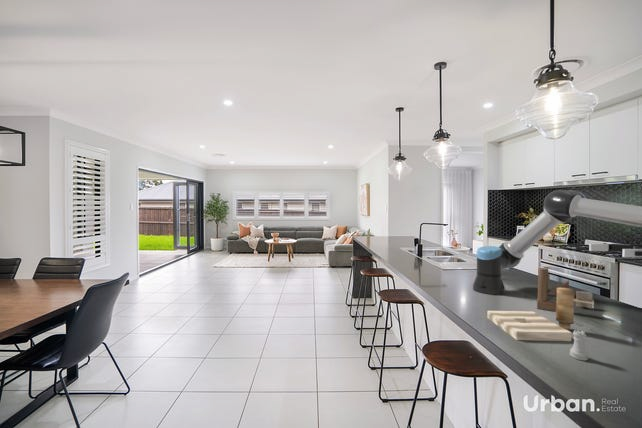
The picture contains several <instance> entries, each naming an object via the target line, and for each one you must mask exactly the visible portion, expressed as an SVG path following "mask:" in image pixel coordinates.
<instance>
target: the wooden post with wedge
mask: <svg viewBox="0 0 642 428" xmlns="http://www.w3.org/2000/svg"><path fill="white" fill-rule="evenodd" d="M537 271H538V272H537V273H538V274H537V299H536V309H537V310H544V311H551V312H556V304H557V301H553V300H548V299H549V298H548V297H549V296H548V295H551V296H557V288H568V289H570V288H569V287H570V280H569V279H568V278H567V279H565V280H563V281H562V282H561V283H559V284H558V285H557V286H555V287H553V288H552V289H550V290H549V268H545V267H539V268H538V270H537Z"/></svg>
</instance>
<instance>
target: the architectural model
mask: <svg viewBox="0 0 642 428" xmlns="http://www.w3.org/2000/svg"><path fill="white" fill-rule="evenodd" d="M574 303H575V306H576V307H580V308H586V309H587V308H589V309H592V308H593V309H592V310H594V309H595V299H594V298H593V292H589V291H582V290H581V291H580V290H576V296H575V298H574Z"/></svg>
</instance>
